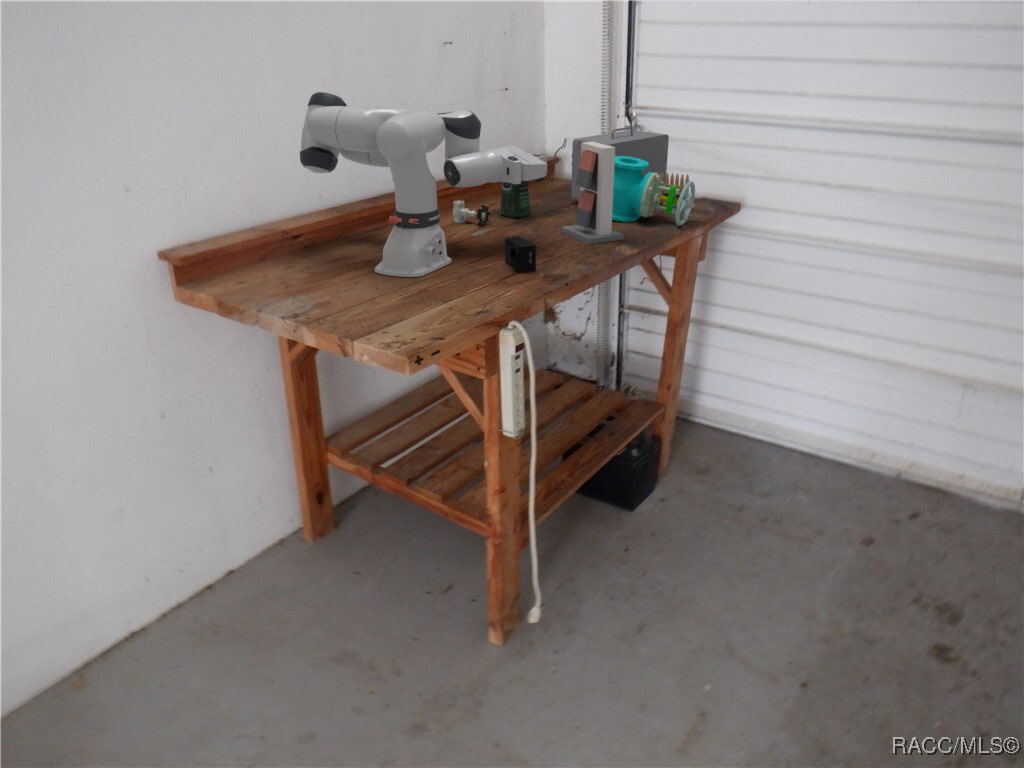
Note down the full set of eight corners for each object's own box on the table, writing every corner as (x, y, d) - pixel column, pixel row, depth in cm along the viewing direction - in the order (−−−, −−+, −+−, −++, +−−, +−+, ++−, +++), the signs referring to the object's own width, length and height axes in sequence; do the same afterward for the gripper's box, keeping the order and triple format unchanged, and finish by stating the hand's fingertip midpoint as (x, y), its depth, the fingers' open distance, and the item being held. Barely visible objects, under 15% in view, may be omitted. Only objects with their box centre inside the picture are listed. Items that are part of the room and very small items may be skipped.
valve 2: (619, 153, 266) (707, 173, 254) (610, 206, 275) (695, 228, 263) (601, 160, 255) (693, 181, 243) (593, 215, 263) (680, 238, 252)
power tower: (594, 227, 256) (598, 139, 244) (623, 239, 243) (628, 147, 231) (561, 231, 251) (563, 143, 239) (588, 244, 238) (591, 151, 227)
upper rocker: (578, 185, 242) (585, 151, 238) (589, 189, 237) (596, 154, 233) (575, 185, 241) (582, 150, 238) (586, 188, 236) (593, 153, 233)
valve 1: (448, 223, 262) (479, 228, 256) (447, 202, 259) (478, 207, 254) (460, 219, 267) (490, 223, 261) (459, 198, 264) (490, 203, 259)
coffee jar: (533, 215, 270) (534, 158, 262) (516, 219, 265) (516, 161, 257) (513, 210, 276) (513, 154, 269) (496, 214, 272) (495, 157, 264)
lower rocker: (578, 223, 247) (584, 190, 243) (588, 228, 242) (594, 194, 238) (574, 223, 246) (580, 190, 242) (585, 228, 241) (591, 194, 238)
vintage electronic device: (625, 189, 306) (629, 120, 295) (664, 197, 293) (669, 125, 283) (566, 203, 286) (568, 129, 276) (605, 212, 274) (609, 135, 263)
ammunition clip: (688, 209, 276) (691, 174, 271) (686, 211, 274) (689, 175, 269) (658, 206, 281) (660, 171, 276) (656, 207, 279) (658, 172, 274)
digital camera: (500, 263, 222) (500, 237, 219) (518, 260, 224) (518, 235, 221) (517, 273, 214) (517, 247, 211) (535, 270, 216) (535, 244, 213)
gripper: (485, 165, 235) (527, 158, 241) (518, 186, 220) (563, 178, 225) (485, 143, 232) (527, 137, 237) (519, 163, 216) (563, 155, 222)
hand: (545, 157), depth 231 cm, fingers closed
